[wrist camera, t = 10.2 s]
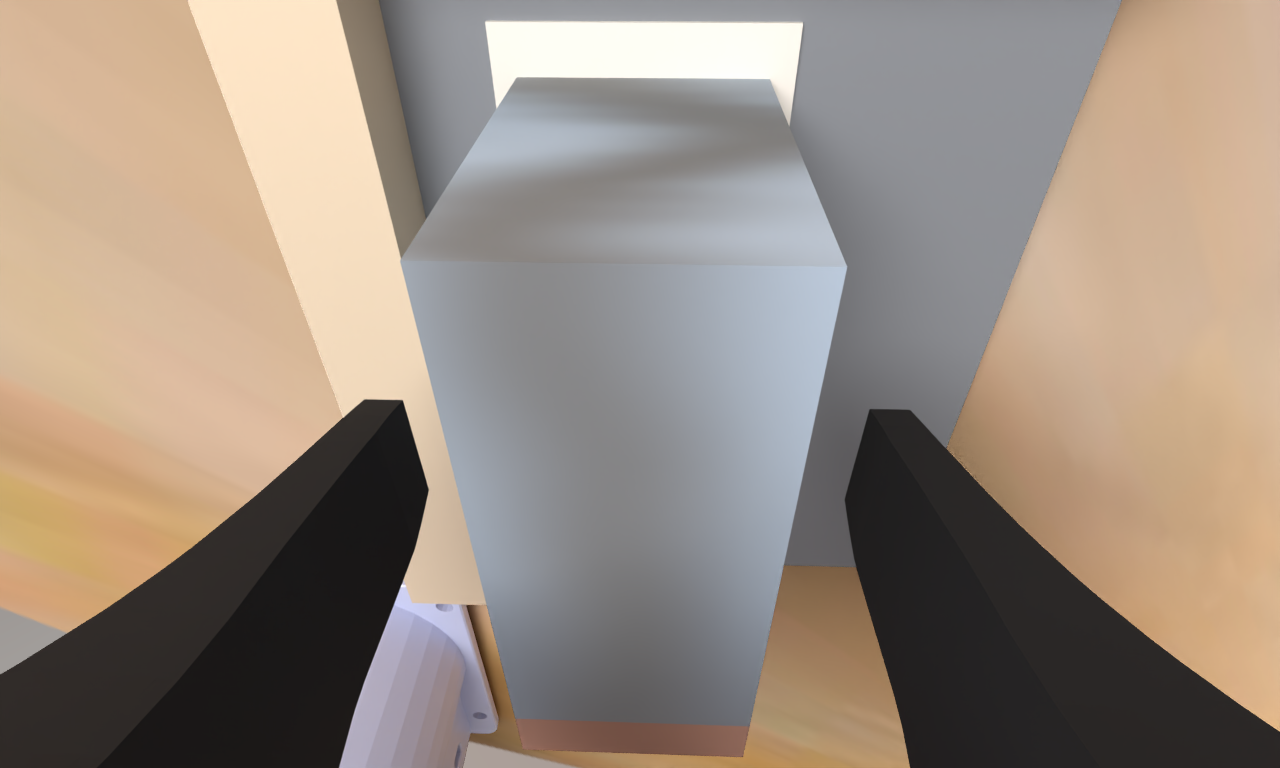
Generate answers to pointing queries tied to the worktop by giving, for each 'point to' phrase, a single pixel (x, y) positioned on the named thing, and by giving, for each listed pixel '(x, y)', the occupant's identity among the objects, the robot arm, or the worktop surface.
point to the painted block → (629, 394)
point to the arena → (667, 48)
